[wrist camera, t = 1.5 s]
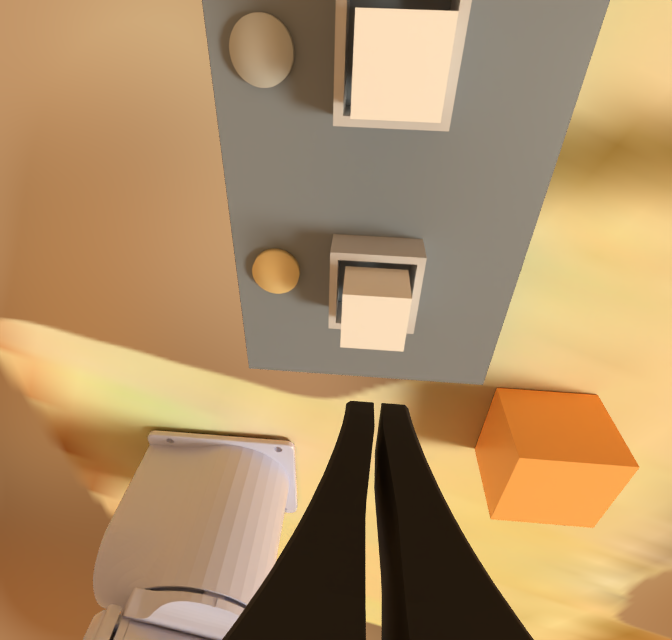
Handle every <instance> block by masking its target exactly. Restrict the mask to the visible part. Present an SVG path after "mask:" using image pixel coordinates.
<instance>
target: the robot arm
mask: <svg viewBox="0 0 672 640" xmlns="http://www.w3.org/2000/svg"><path fill="white" fill-rule="evenodd" d="M373 435H374V403H372V402H358V401H350V402H348V403H347V404H346V410H345V415H344V420H343V424H342V427H341V430H340V433H339V436H338V439H337V442H336V445H335V448H334V450H333V453H332V455H331V458H330V460H329V463H328V465H327V468H326V470H325V472H324V474H323V477H322V479H321V481H320V483H319V485H318V487H317V489H316V491H315V493H314V495H313V497H312V500H311V502H310V504H309V506H308V507H307V509H306V511H305V513H304V515H303V517H302V519H301V520H300V522H299V524H298V526H297V528H296V529H295V531H294V533H293V535H292V536H291V538H290V540H289V542H288V543H287V545H286V546H285V548H284V550H283V551H282V553H281V555H280V556H279V558H278V559H277V561H276V558H277V552H278V546H279V541H280V535H281V529H282V524H283V518H284V513H285V512H288V513H293V512H295V511H296V510H297V487H296V467H295V446H294V444H293V443H292V442H290V441H285V440H272V439H259V438H247V437H234V436H221V435H208V434H195V433H183V432H170V431H157V430H154V431H151V432H150V433H149V435H148V437H147V439H148V441H149V444H150V445H149V447H148V449H147V451H146V453H145V455H144V457H143V459H142V461H141V463H140V465H139V467H138V469H137V470H136V472H135V474H134V476H133V478H132V480H131V482H130V484H129V486H128V488H127V490H126V492H125V494H124V496H123V498H122V500H121V502H120V504H119V506H118V507H117V509H116V511H115V513H114V515H113V517H112V519H111V521H110V523H109V525H108V527H107V530H106V532H105V534H104V537H103V539H102V542H101V545H100V548H99V551H98V555H97V559H96V563H95V568H94V576H93V588H94V594H95V598H96V601H97V602H98V604H99V605H100V606H101V607H103V608H106V610H103V611H101V612H99V613H98V614H96V615H95V616H94V617H93V619H92V621H91V624H90V626H89V628H88V630H87V632H86V634H85V636H84V638H83V640H366V611H365V514H366V499H367V489H368V480H369V471H370V462H371V453H372V444H373ZM374 489H375V503H376V516H377V529H378V542H379V555H380V568H381V586H382V640H534V639H533V638H532V637H531V635H530V634H529V633H528V631H527V630H526V629H525V627H524V626H523V624H522V623H521V621H520V620H519V619H518V617H517V616H516V614H515V613H514V611H513V610H512V609H511V607H510V606H509V604H508V603H507V601H506V600H505V599H504V597H503V596H502V594H501V593H500V591H499V590H498V589H497V587H496V586H495V584H494V583H493V581H492V580H491V578H490V576H489V575H488V573H487V572H486V570H485V569H484V567H483V565H482V564H481V562H480V561H479V559H478V558H477V556H476V554H475V553H474V551H473V549H472V548H471V546H470V544H469V543H468V541H467V539H466V538H465V536H464V534H463V532H462V531H461V529H460V527H459V525H458V523H457V522H456V520H455V518H454V516H453V514H452V512H451V510H450V508H449V506H448V505H447V503H446V501H445V499H444V497H443V495H442V493H441V491H440V489H439V487H438V485H437V482H436V480H435V478H434V476H433V474H432V471H431V469H430V467H429V465H428V463H427V460H426V458H425V456H424V453H423V451H422V448H421V446H420V443H419V440H418V438H417V435H416V432H415V430H414V427H413V424H412V420H411V417H410V413H409V409H408V408H407V407H406V406H405V405H399V404H386V403H382V404H381V412H380V419H379V427H378V434H377V441H376V449H375V484H374ZM120 611H121V614H120V615H119V613H120Z"/></svg>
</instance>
